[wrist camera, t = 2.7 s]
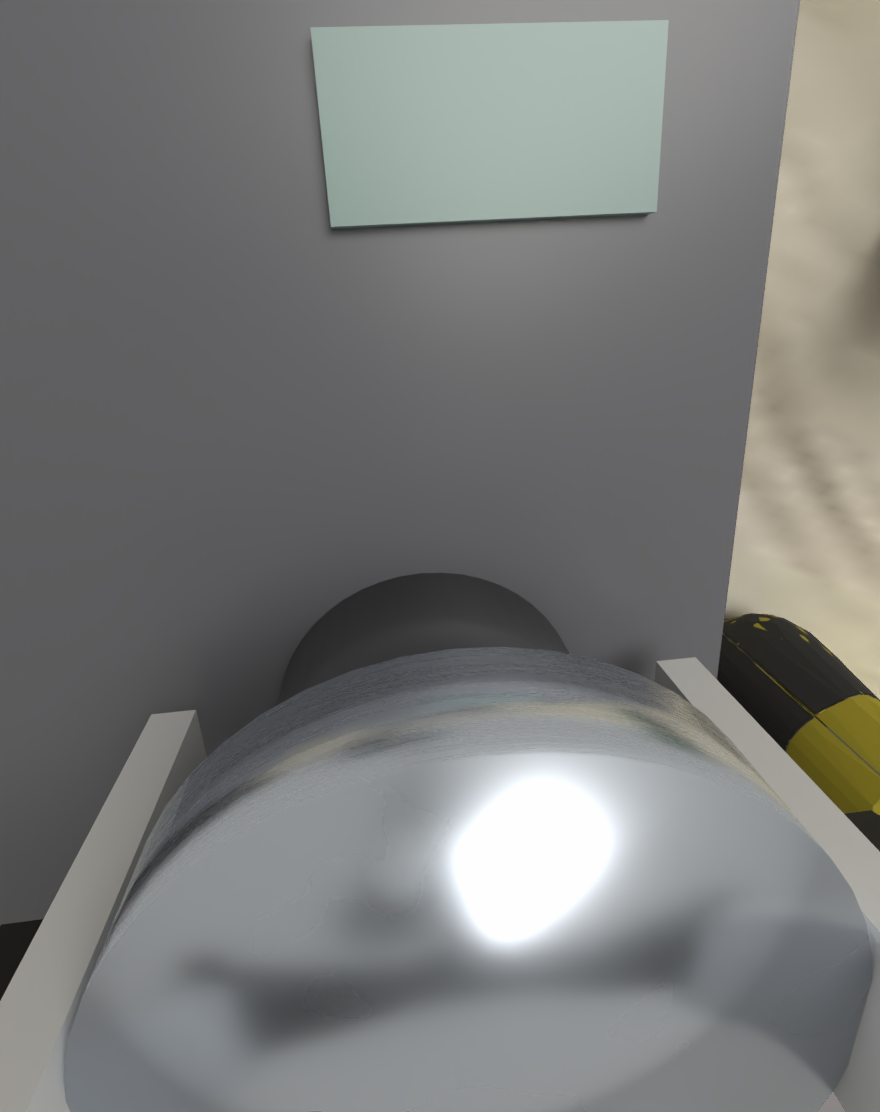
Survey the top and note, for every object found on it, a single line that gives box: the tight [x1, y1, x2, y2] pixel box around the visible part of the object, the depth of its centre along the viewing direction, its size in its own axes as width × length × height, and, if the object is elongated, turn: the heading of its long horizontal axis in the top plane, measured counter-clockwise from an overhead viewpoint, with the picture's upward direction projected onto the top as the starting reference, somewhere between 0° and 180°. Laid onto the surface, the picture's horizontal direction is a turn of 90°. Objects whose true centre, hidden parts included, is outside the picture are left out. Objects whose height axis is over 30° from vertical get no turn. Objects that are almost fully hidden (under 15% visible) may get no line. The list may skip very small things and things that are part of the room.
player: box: [0, 0, 800, 926], centre depth 13 cm, size 18×16×12 cm
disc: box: [64, 647, 873, 1112], centre depth 8 cm, size 8×8×2 cm
